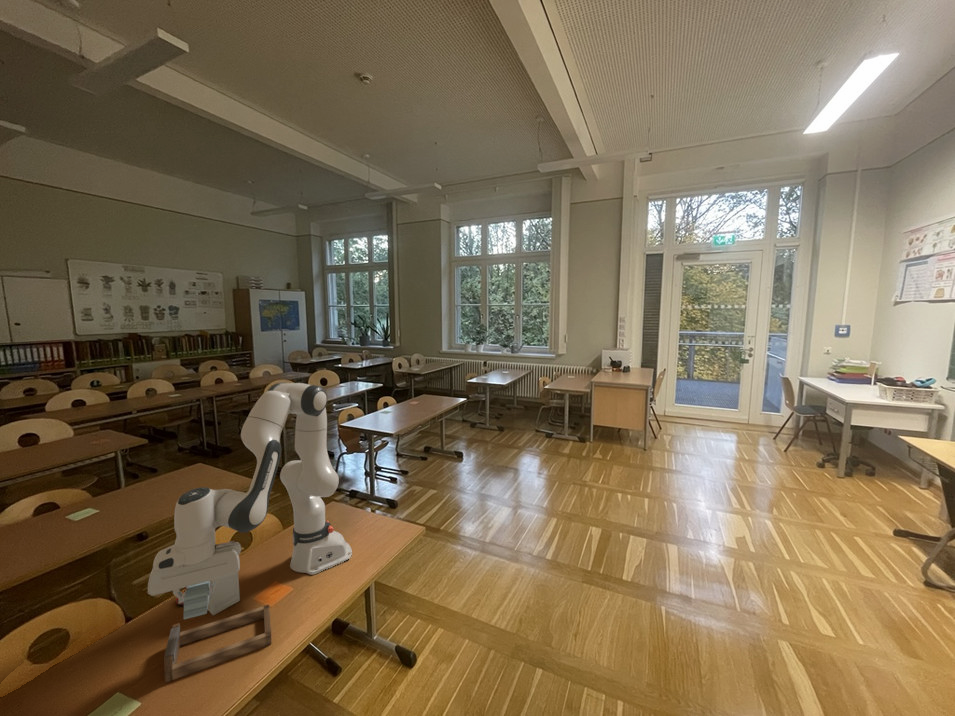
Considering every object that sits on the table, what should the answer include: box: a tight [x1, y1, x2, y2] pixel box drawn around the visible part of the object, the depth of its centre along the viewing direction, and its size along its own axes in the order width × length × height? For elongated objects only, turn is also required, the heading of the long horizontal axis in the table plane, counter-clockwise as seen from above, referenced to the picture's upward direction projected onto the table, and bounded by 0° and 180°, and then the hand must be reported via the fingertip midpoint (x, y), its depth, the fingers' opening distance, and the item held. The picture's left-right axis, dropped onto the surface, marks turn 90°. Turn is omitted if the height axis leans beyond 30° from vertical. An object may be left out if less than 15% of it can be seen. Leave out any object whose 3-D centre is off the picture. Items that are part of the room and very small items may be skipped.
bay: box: [163, 604, 272, 684], centre depth 109 cm, size 24×14×6 cm, turn 121°
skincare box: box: [207, 571, 241, 616], centre depth 123 cm, size 8×6×15 cm
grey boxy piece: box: [183, 581, 210, 620], centre depth 105 cm, size 5×8×6 cm, turn 31°
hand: (197, 597), depth 104 cm, fingers closed on grey boxy piece, 5 cm apart
